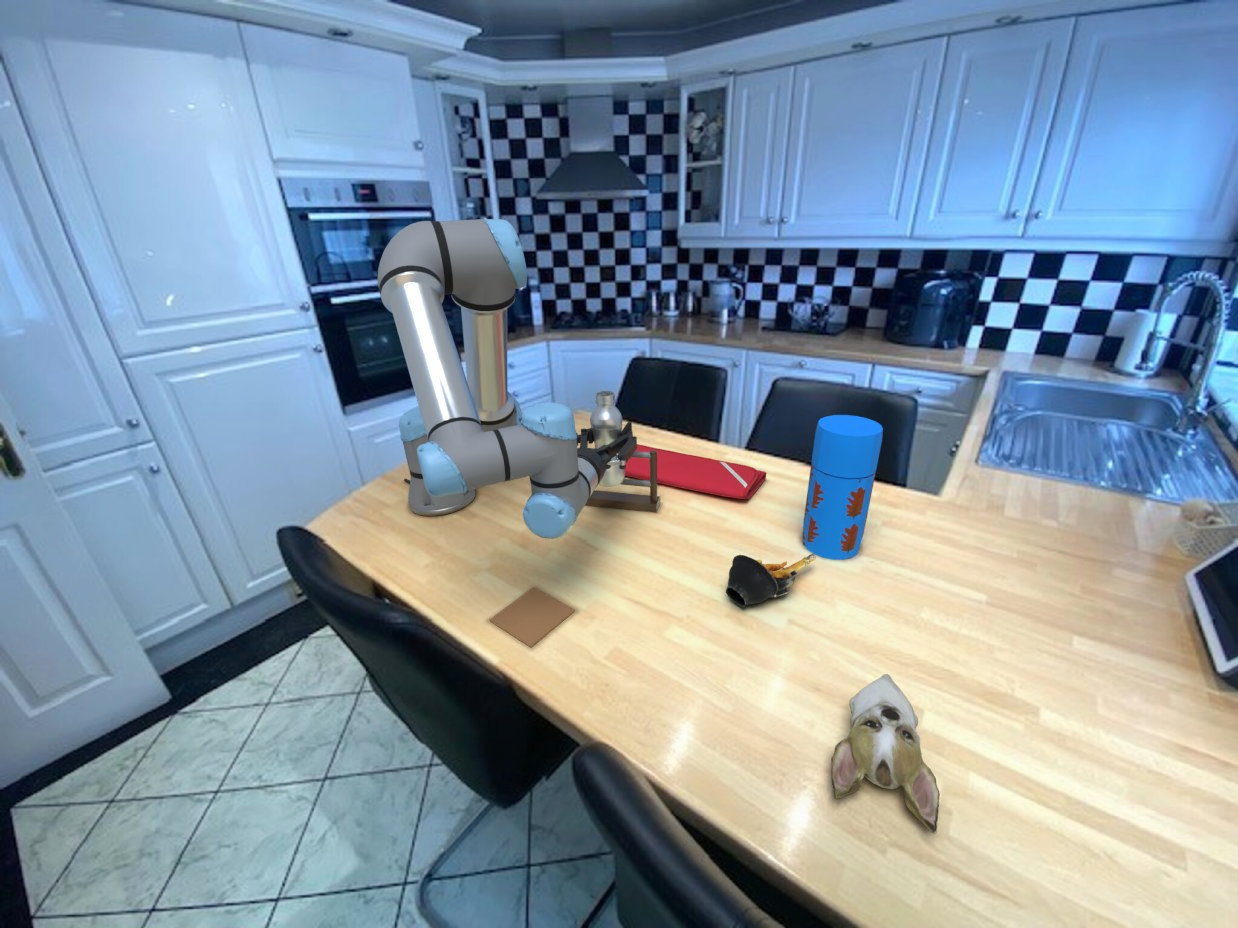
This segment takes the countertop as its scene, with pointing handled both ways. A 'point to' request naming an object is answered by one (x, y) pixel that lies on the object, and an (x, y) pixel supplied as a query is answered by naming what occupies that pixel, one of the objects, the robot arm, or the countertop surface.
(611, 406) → the silver water bottle
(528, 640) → the coaster
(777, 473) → the countertop surface
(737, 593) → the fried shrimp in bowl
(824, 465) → the thermos
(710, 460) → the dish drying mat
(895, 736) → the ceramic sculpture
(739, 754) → the countertop surface
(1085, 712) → the countertop surface
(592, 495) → the rail rack
